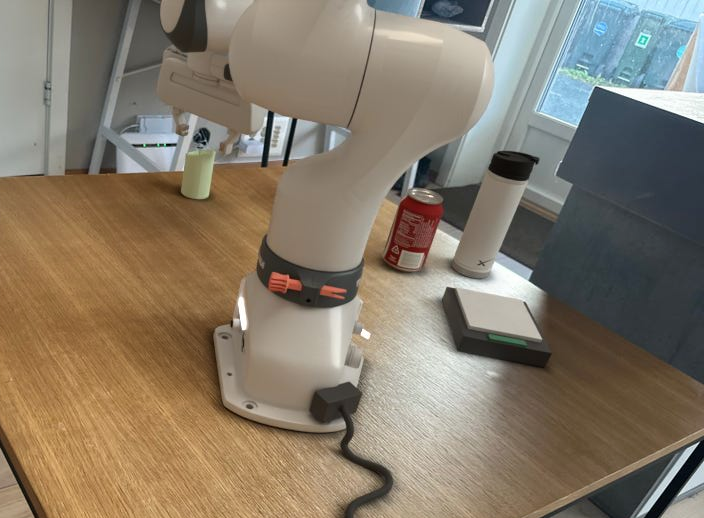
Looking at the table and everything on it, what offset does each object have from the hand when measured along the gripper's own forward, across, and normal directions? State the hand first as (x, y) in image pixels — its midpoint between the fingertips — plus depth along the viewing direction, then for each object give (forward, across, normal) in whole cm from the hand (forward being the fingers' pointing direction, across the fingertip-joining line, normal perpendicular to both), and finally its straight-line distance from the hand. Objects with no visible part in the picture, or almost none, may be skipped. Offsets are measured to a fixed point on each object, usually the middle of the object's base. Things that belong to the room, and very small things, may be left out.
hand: (202, 143), depth 120 cm
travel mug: (+9, +47, +15) cm, 50 cm away
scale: (+9, +56, -3) cm, 57 cm away
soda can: (+9, +38, +6) cm, 39 cm away
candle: (+9, 0, 0) cm, 9 cm away
